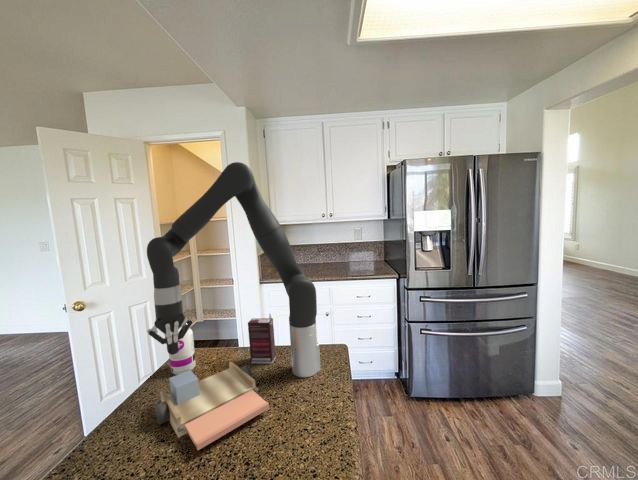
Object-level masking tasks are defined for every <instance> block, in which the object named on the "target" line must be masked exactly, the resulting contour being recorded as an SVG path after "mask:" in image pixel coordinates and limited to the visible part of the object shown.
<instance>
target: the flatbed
mask: <svg viewBox="0 0 638 480" xmlns="http://www.w3.org/2000/svg"><path fill="white" fill-rule="evenodd" d="M198 381H199V392H200V395H199V396H196V397H194V398H192V399H190V400H188V401H186V402H183V403H181V404H179V405H177V403H176V402H175V400H174V398H173V397H172V395H171V392H170V393H168V394H167V392H166V390H165V389H162V390H160V391H159V392H160V400H161V402H160V403H158V404H156V405H154V413H155V417H156V422H157V425H158V426H161V425H163V424H165V423H167V422H169V423H170V425H171V427H172V429H173V431H174V432H175V434H176V436H177V438H180V437H182V436H184V435H186V434H188V433H187V431H186V429H185V424H187V423H189V422H191V421H193V420H195V419H197V418H199V417H201V416H203V415H205V414H206V413H208V412H210V411H212V410H214V409H216V408H218V407H220V406H222V405H224V404H226V403H228V402H230V401H232V400H234V399H236V398H238V397H240V396H242V395H243V394H245V393H247V392H249V391H251V390H253V391H254V392H255V393H257V392H258V391H259V388H258V387H257V386H256V379H254V378H253V374H252V371H251V368H250V367H249V366H248V365H244V366H242V367H239V366H238V365H237V364H236V363H235V362H233V361H230V362H228V368H227V369H224V370H222V371H219V372H217V373H215V374H213V375H210V376H207V377H205V378H204V379H201V380H198Z"/></svg>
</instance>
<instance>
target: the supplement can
mask: <svg viewBox="0 0 638 480" xmlns="http://www.w3.org/2000/svg"><path fill="white" fill-rule="evenodd" d="M181 328H182V326H181V327H180V328H179V329H178V333H179V331H180V330H181ZM193 332H194V331H193V330H192V329H191V327H190V328H189V329H188V331H187V332H186V334H185V336H184V337H183V338H182V339H179V340H178V351H177V352H176V354H173V355H171V354H169V353H168V356H169V365H170V366H169V367H170V372H171V373H172V374H174V375H175V376H176V375H179V374H181V373H184V372H186V371H189V370H191V371H192V370H194V369H195V367H196V366H197V363H196V354H195V353H196V352H195V341H194V333H193ZM171 338H172V333H171Z"/></svg>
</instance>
